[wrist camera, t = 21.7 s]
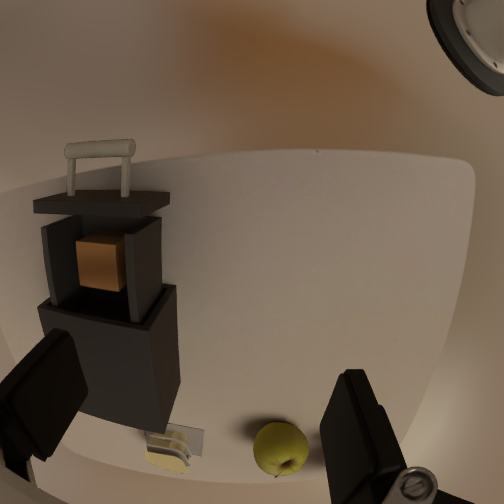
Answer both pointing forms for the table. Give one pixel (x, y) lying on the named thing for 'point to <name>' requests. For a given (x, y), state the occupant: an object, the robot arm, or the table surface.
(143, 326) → the dark grey box
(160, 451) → the stacked layers on plate
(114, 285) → the block
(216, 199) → the table surface
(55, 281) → the drawer
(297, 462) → the apple
